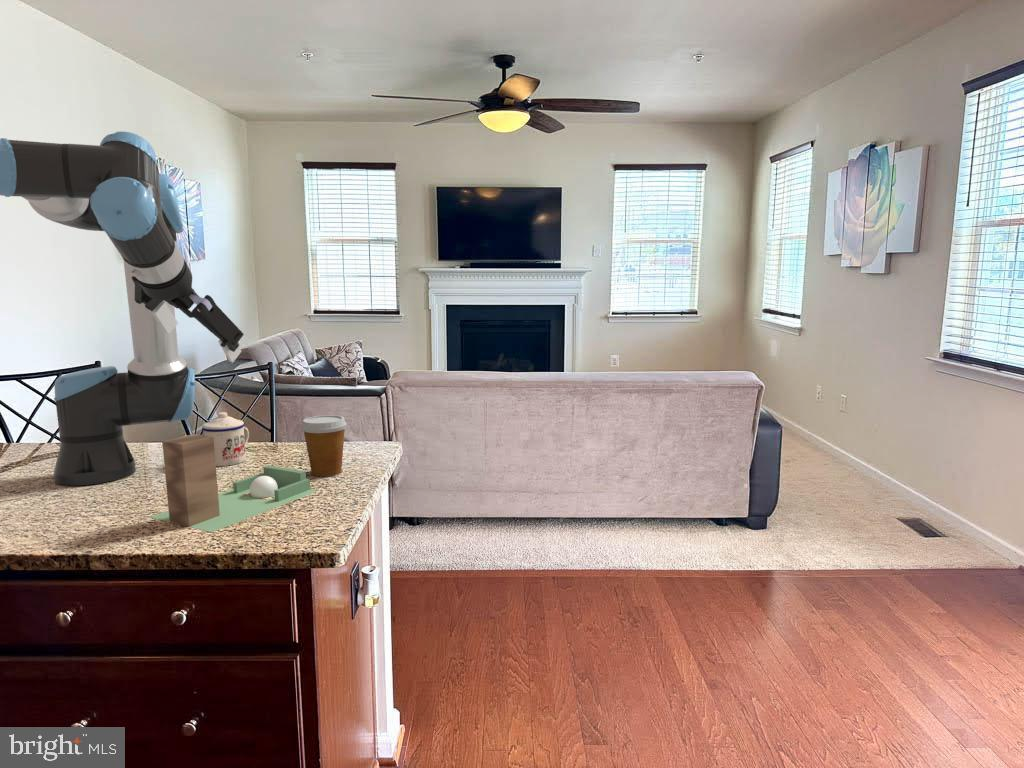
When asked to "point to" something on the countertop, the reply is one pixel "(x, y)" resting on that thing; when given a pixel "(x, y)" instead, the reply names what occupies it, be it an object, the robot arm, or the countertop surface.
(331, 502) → the countertop surface
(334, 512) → the countertop surface
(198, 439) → the walnut block
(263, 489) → the ball
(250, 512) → the pad
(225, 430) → the teacup with lid
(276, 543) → the countertop surface
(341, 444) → the disposable coffee cup
